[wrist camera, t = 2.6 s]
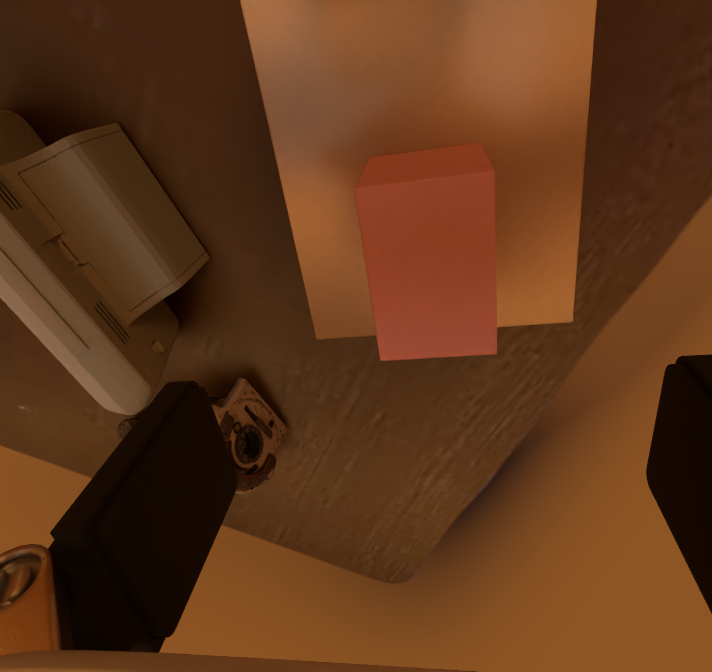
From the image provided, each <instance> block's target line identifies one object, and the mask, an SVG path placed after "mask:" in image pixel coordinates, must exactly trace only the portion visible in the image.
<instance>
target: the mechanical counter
mask: <svg viewBox="0 0 712 672" xmlns="http://www.w3.org/2000/svg"><path fill="white" fill-rule="evenodd" d="M209 399H210V402H211V404H212V407H213V410H214V412H215V415H216V418H217V421H218V423H219V426H220V429H221V432H222V434H223V437H224V440H225V442H226V445H227V448H228V451H229V453H230V456H231V459H232V461H233V464H234V467H235V470H236V472H237V476H238V485H237V489H236V492H235V494H240V495H241V494H245V493H249V492H252V491H253V490H255V489H256V488H258V487H259V486H260V485H261V484H262V483H263V482H264V480H269V479H270V478H271V476H272V475H273V473H274V470H275V465H276V459H275V458H276V455H277V453H278V451H279V449H280V446H281V444H282V442H283V439H284V437H285V435H286V432H287V430H288V429H287V427H286V426H285V424H284V423H283V422H282V421H281V420H280V419H279V418H278V416H277V415H276V414H275V413H274V412H273V411H272V409H271V408H270V407H269V406H268V405H267V404H266V403H265V401H264V400H263V399H262V398H261V397H260V395H259V394H258V393H257V392H256V391H255V390H254V388H253V387H252V386H251V385H250V384H249V383H248V382H247V381H246V380H245V379H243V378H238V379H237V380H236V382H235V384H234V386H233V388H232V389H231V391H230V392H229V394H228V396H227V397H209ZM137 421H138V418H131V419H126V420H124V421H122V422H121V423H120V424H119V426H118V437H119V440H120V442H121V441H122V440H123V439H124V437H125V436H126V435H127V434H128V432H129V431H130V430H131V428H132V427H133V426H134V425H135V423H136V422H137Z"/></svg>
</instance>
